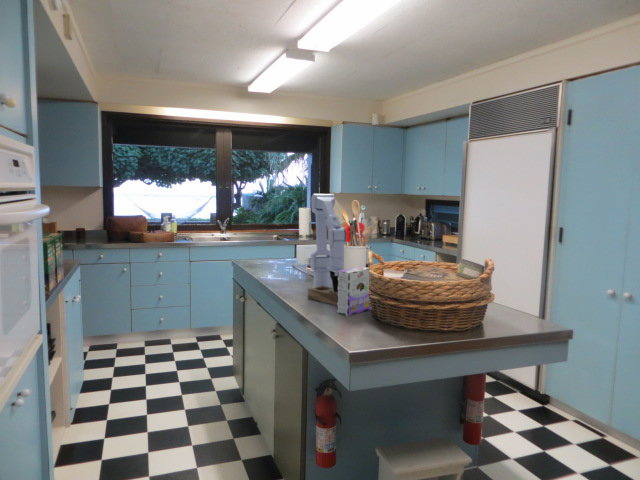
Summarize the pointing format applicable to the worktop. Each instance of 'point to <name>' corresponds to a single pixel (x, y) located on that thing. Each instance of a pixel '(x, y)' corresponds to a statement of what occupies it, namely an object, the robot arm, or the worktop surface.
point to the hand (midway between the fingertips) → (336, 289)
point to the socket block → (323, 294)
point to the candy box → (353, 291)
